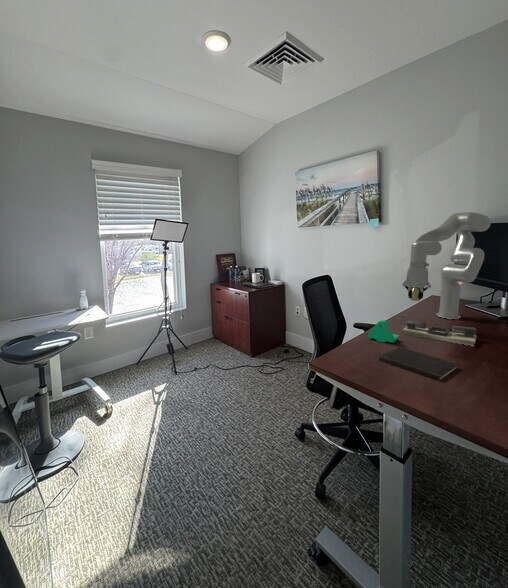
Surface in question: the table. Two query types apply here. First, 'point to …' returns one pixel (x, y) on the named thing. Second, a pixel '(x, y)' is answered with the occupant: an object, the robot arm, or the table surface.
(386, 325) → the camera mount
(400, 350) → the hardcover book
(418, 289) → the yellow round-topped cylinder
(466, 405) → the table surface
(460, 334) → the stand
